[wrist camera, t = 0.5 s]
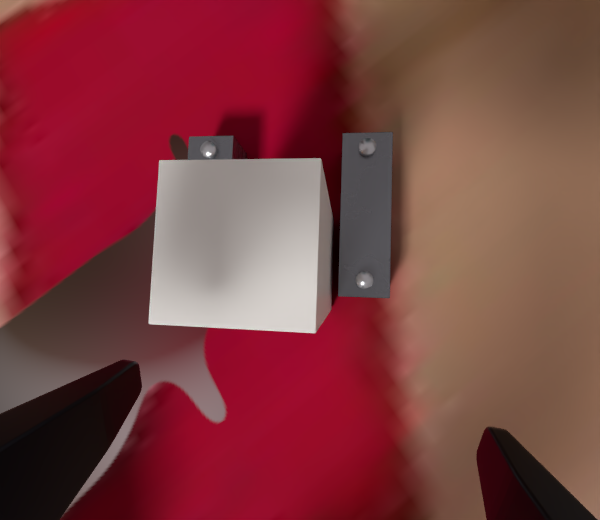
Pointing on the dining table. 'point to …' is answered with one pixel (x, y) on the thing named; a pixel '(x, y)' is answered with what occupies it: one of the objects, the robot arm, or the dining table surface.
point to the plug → (242, 245)
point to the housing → (346, 206)
